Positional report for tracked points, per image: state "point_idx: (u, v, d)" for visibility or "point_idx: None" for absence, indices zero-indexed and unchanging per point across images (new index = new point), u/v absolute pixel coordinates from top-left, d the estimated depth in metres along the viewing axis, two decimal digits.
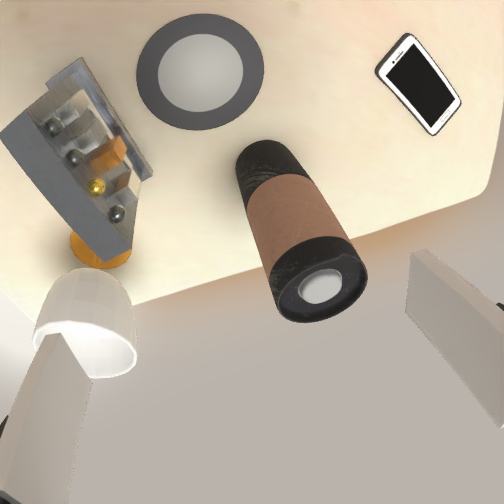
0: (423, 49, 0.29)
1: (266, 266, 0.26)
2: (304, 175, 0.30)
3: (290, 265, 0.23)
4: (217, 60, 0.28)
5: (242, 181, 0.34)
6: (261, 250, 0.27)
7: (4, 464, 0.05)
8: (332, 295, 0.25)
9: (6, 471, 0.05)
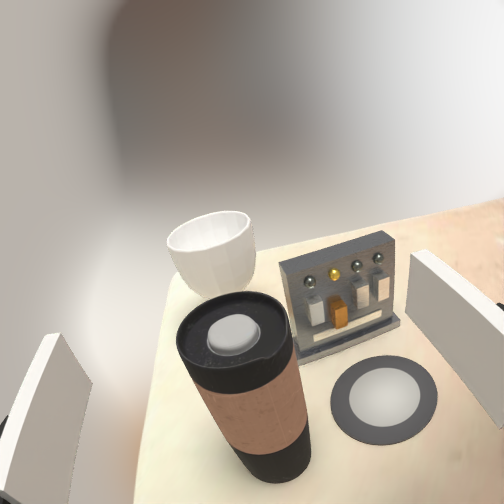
0: None
1: None
2: (300, 437, 0.23)
3: None
4: (397, 405, 0.31)
5: None
6: None
7: (4, 464, 0.05)
8: (217, 339, 0.20)
9: (6, 471, 0.05)
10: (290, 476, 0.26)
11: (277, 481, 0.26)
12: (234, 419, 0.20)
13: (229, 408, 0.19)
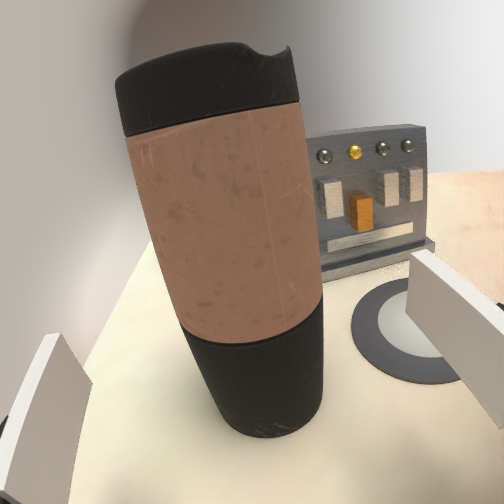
0: None
1: None
2: (309, 321, 0.14)
3: None
4: None
5: None
6: None
7: (4, 464, 0.05)
8: None
9: (6, 471, 0.05)
10: (287, 423, 0.17)
11: (265, 431, 0.17)
12: (183, 214, 0.11)
13: (174, 173, 0.10)
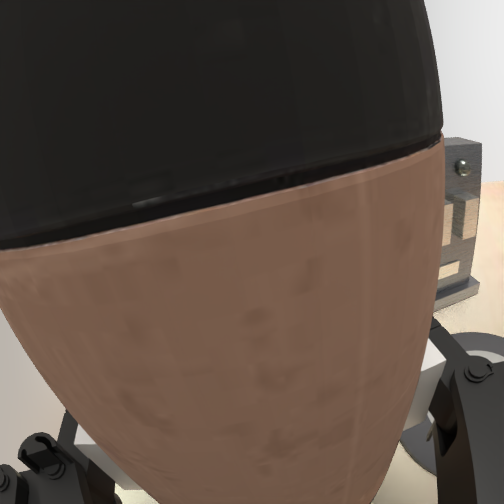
0: None
1: None
2: (371, 500, 0.07)
3: None
4: None
5: None
6: None
7: None
8: None
9: None
10: None
11: None
12: (129, 461, 0.03)
13: (75, 393, 0.03)
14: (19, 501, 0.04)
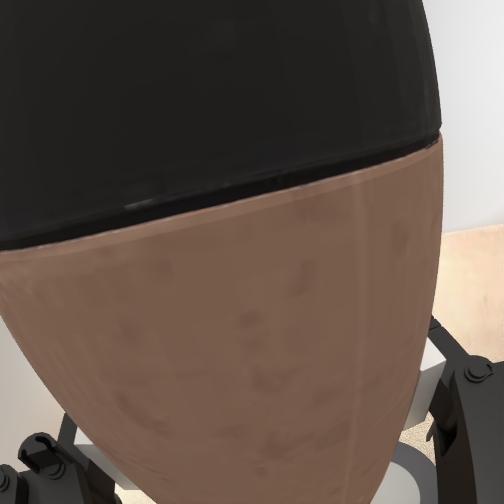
0: None
1: None
2: (370, 501, 0.07)
3: None
4: None
5: None
6: None
7: None
8: None
9: None
10: None
11: None
12: (126, 463, 0.03)
13: (72, 395, 0.03)
14: (19, 501, 0.04)
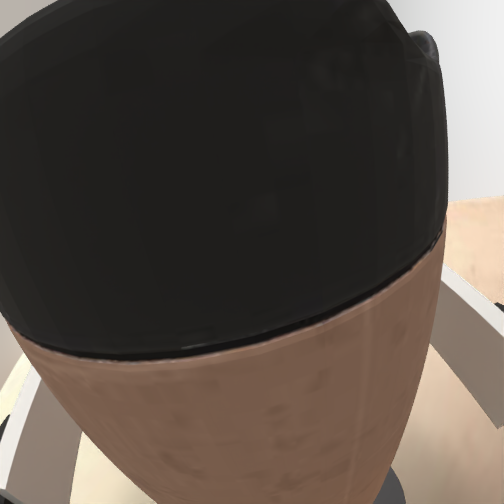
0: None
1: None
2: None
3: None
4: None
5: None
6: None
7: (6, 463, 0.05)
8: None
9: (8, 470, 0.05)
10: None
11: None
12: (158, 491, 0.04)
13: (116, 448, 0.03)
14: None
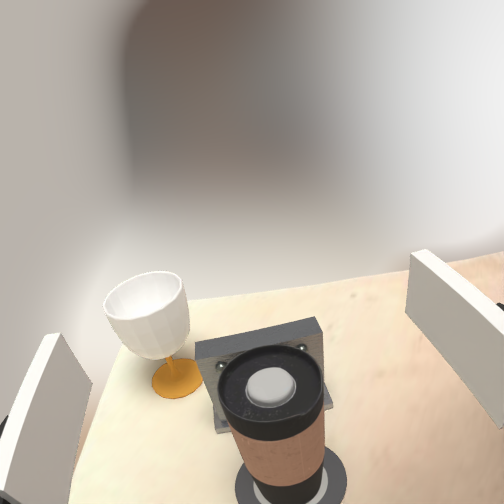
0: None
1: None
2: (316, 472, 0.24)
3: None
4: None
5: None
6: None
7: (4, 464, 0.05)
8: (256, 391, 0.21)
9: (6, 471, 0.05)
10: (300, 503, 0.26)
11: None
12: (263, 459, 0.20)
13: (261, 450, 0.20)
14: None
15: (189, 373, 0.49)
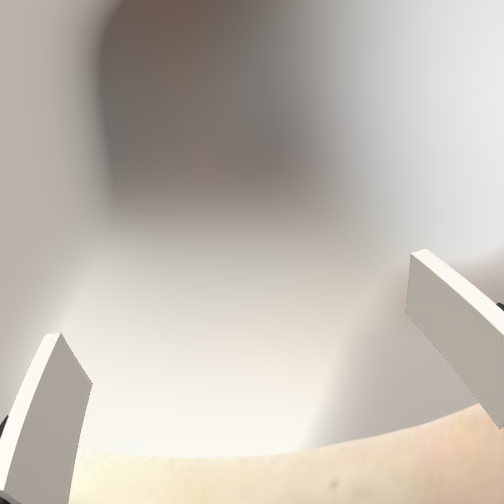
0: None
1: None
2: None
3: None
4: None
5: None
6: None
7: (4, 464, 0.05)
8: None
9: (6, 471, 0.05)
10: None
11: None
12: None
13: None
14: None
15: None
